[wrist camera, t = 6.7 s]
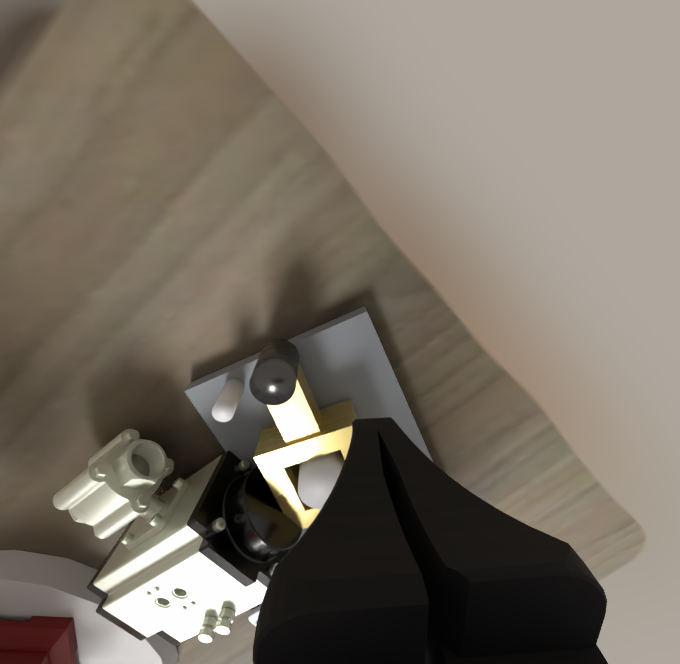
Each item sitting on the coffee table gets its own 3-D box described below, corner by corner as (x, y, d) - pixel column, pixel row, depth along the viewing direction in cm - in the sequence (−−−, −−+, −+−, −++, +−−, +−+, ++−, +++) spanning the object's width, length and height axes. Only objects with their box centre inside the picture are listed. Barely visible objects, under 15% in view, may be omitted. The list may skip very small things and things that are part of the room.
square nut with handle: (320, 323, 18) (320, 346, 15) (378, 471, 21) (387, 512, 19) (224, 357, 19) (207, 385, 16) (296, 497, 22) (292, 541, 19)
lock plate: (442, 482, 24) (466, 539, 20) (295, 538, 25) (290, 603, 21) (364, 305, 19) (375, 333, 15) (190, 382, 20) (158, 426, 16)
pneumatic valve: (184, 378, 19) (331, 513, 22) (64, 477, 23) (205, 581, 26) (118, 451, 14) (321, 613, 17) (-24, 564, 18) (166, 681, 21)
